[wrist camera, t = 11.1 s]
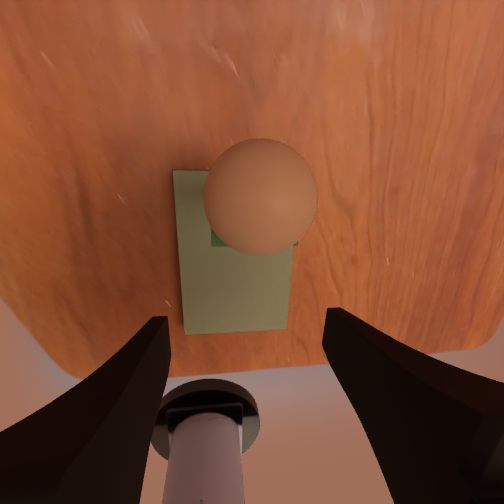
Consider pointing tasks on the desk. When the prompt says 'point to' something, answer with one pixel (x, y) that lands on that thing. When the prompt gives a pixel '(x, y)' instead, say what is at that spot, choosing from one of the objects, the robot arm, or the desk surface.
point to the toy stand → (224, 272)
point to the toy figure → (259, 197)
